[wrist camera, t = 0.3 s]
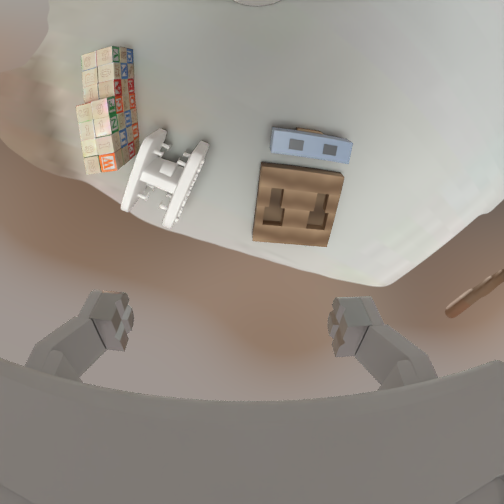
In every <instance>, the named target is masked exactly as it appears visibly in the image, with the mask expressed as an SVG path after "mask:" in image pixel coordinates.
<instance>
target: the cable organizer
mask: <svg viewBox="0 0 504 504" xmlns="http://www.w3.org/2000/svg"><path fill="white" fill-rule="evenodd" d="M166 134H167V131H166V130H163V129H161V128H160V129H158V130H156V131H155V132H153V133H152V134H150V135H148V136H147V137H146V138H145V139H144V141H143V142H142V144H141V146H140V148H139V151H138V154H137V157H136V159H135V162H134V165H133V168H132V171H131V174H130V177H129V180H128V183H127V187H126V190H125V193H124V197H123V200H122V204H121V209H122V210H123V211H126V212H129V211H130V210H131V208H132V207H133V206H134V204H135V203H136V202H137V201H138V199H139V198H143V199H145V202H146V200H147V199H148V198H149V193H150V191H149V193H147V196H146V195H143V193H144V191H145V189H146V186H148V187H150V188H153V190H152V191H154V189H155V187H157V188H159V189H161V190H164V191H167V193H166V197H169V198H171V200H170V203H169V205H168V206H165V205H163V204H162V202H161V203H160V205H159V208H162V209H164V210H166V213H165V215H164V218H163V222H162V226H165V227H167V228H169V229H171V228H172V226H173V225H174V223H175V222H177V221H178V219H179V217H180V214H181V212H182V210H183V207H184V205H185V203H186V201H187V198H188V196H189V194H190V192H191V189H192V187H193V185H194V183H195V181H196V179H197V176H198V172H200V170H201V168H202V166H203V165H202V164H204V162H205V160H204V159H205V155H206V153H207V151H208V148H209V144H208V143H205V142H203V141H200V142H199V144H198V145H197V146H196V148H195V149H194V151H193V152H192V154H188V153H186V151H185V152H184V153H183V156H186V157H188V158H189V159H188V161H187V163H185V162H183V161H181V160H179V159H180V158H179V159H178V161H177V163H174V162H172V161H169V160H165V159H162V158H161V157H162V156H163V153H164V152H160V150H161V147H164V148H167V149H168V150H167V151H169V149H170V147H171V145H170V146H169V145H167V144H164V140H165V137H166ZM186 150H187V149H186ZM164 151H165V150H164ZM158 155H159V156H160V157H158ZM183 156H182V158H183ZM178 164H180V165H182V166H184V167H181V166H179V165H178ZM168 192H169V193H172V194H173V195H171V194H169V193H168ZM185 199H186V200H185ZM162 201H163V200H162ZM159 208H158V209H159Z"/></svg>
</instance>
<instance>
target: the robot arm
mask: <svg viewBox="0 0 504 504" xmlns="http://www.w3.org/2000/svg"><path fill="white" fill-rule="evenodd" d="M233 1H235V2H238V3H241V4H245V5H251V6H263V5H269V4H273V3H276V2H278V1H281V0H233ZM128 302H129V298H128V295H127V294H126V293H124V292H114V291H101V290H93V291H91V293H90V294H89V296H88V298H87V300H86V302H85V304H84V305H83V307H82V309H81V311H80V313H79V315H78V317H73V318H72V319H70V320H69V321H68V322H66V323H65V324H63V325H62V326H60V327H59V328H58V329H56V330H55V331H53V332H52V333H50V334H49V335H48V336H46V337H45V338H43V339H42V340H41V341H39V342H38V343H37V344H35V346H34V348H33V350H32V352H31V354H30V356H29V358H28V360H27V362H26V364H25V366H22V365H19V364H16V363H13V362H10V361H8V360H5V359H2V358H0V504H504V362H502V361H499V360H495V361H491V362H489V363H486V364H483V365H480V366H477V367H474V368H471V369H468V370H464V371H461V372H458V373H454V374H451V375H447V376H444V377H440V378H438V376H437V374H436V372H435V369H434V367H433V365H432V363H431V361H430V358H429V356H428V355H427V354H426V353H425V352H423V351H422V350H421V349H419V348H418V347H417V346H415V345H414V344H413V343H411V342H410V341H409V340H407V339H406V338H405V337H404V336H402V335H401V334H400V333H398V332H397V331H396V330H394V329H392V328H391V327H390V326H389V325H384V323H383V321H382V318H381V316H380V314H379V312H378V310H377V308H376V305H375V303H374V301H373V299H372V297H370V296H365V297H340V298H335V299H334V301H333V304H332V305H333V309H334V310H333V311H332V312H330V314H329V318H328V331H329V335H330V336H331V337H332V338H333V339H334V340H333V342H332V346H333V350H334V354H335V357H345V356H355V358H356V359H357V360H358V361H359V362H360V363H361V364H362V365H363V366H364V367H365V368H366V370H368V372H369V373H370V374H371V375H372V376H373V377H374V378H375V379H376V380H377V381H378V382H379V383H380V384H381V386H380V388H379V389H378V390H377V391H374V392H368V393H360V394H353V395H345V396H338V397H328V398H316V399H303V400H285V401H214V400H198V399H184V398H174V397H163V396H155V395H148V394H141V393H134V392H128V391H122V390H116V389H110V388H105V387H100V386H95V385H91V384H86V383H83V382H82V380H81V379H80V378H79V377H80V376H81V375H82V374H83V373H84V372H85V371H86V370H87V369H88V368H89V367H90V366H91V365H92V364H93V363H94V362H95V361H96V360H97V359H98V358H99V357H100V356H101V355H102V354H103V353H104V352H105V351H106V349H107V350H116V351H125V348H126V345H127V342H128V336H127V334H128V333H129V332H130V331H131V330H132V327H133V322H134V315H133V310H132V308H131V307H130V306H129V305H128Z"/></svg>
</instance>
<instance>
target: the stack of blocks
mask: <svg viewBox="0 0 504 504" xmlns="http://www.w3.org/2000/svg"><path fill="white" fill-rule="evenodd" d="M81 62H82V82H83V94H84V102H85V104H82V105H79V106H76V112H77V119H78V123H79V131H80V137H81V145H82V151H83V157H84V164H85V169H86V174H95V173H101V172H110V171H116V170H118V169H119V168H121V167H122V166H123V165H125V163H127V162H128V161H129V160H130V159H131V158H132V157H133V156H135V155H136V154H137V153H138V151H139V148H140V146H139V132H138V123H137V110H136V104H135V93H134V80H133V78H134V68H133V50H132V49H128V48H123V47H115V46H110V47H107V48H103V49H100V50H97V51H94V52H91V53H88V54H84V55H82V56H81Z"/></svg>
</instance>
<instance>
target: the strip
mask: <svg viewBox="0 0 504 504" xmlns="http://www.w3.org/2000/svg"><path fill="white" fill-rule="evenodd" d="M352 146H353V143H352V142H351V141H349V140H347V139H344V138H339V137H334V136H329V135H323V134H317V133H311V132H305V131H298V130H291V129H284V128H276V127H272V134H271V142H270V151H271V153H277V154H285V155H293V156H301V157H308V158H315V159H321V160H328V161H334V162H340V163H345V164H349V160H350V155H351V150H352Z"/></svg>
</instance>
